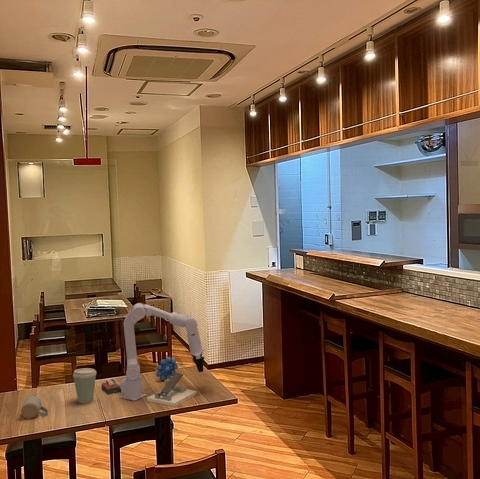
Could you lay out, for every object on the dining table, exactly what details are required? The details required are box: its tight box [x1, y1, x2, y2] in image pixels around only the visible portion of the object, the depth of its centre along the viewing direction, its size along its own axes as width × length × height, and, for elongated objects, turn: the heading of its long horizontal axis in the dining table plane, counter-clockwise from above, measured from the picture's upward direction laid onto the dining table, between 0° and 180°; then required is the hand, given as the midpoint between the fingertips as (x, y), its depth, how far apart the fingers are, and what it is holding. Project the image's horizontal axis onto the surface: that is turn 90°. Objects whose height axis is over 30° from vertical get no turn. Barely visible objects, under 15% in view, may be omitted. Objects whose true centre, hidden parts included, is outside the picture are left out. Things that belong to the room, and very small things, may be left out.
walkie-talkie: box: [101, 378, 121, 395], centre depth 257 cm, size 9×4×20 cm
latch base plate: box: [146, 383, 198, 407], centre depth 240 cm, size 16×17×4 cm
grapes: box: [155, 356, 179, 381], centre depth 266 cm, size 12×7×12 cm, turn 114°
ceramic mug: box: [20, 395, 49, 420], centre depth 224 cm, size 11×8×8 cm
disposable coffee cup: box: [72, 367, 97, 405], centre depth 239 cm, size 11×11×15 cm
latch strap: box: [159, 372, 184, 397], centre depth 239 cm, size 15×4×1 cm, turn 149°
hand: (200, 369), depth 247 cm, fingers open, 7 cm apart
